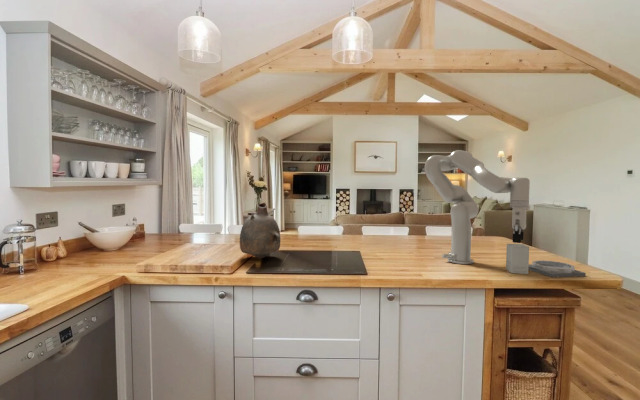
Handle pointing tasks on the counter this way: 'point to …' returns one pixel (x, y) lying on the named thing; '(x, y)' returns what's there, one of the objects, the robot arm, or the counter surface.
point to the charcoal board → (553, 274)
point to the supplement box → (517, 258)
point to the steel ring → (567, 267)
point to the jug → (260, 234)
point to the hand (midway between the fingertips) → (518, 241)
